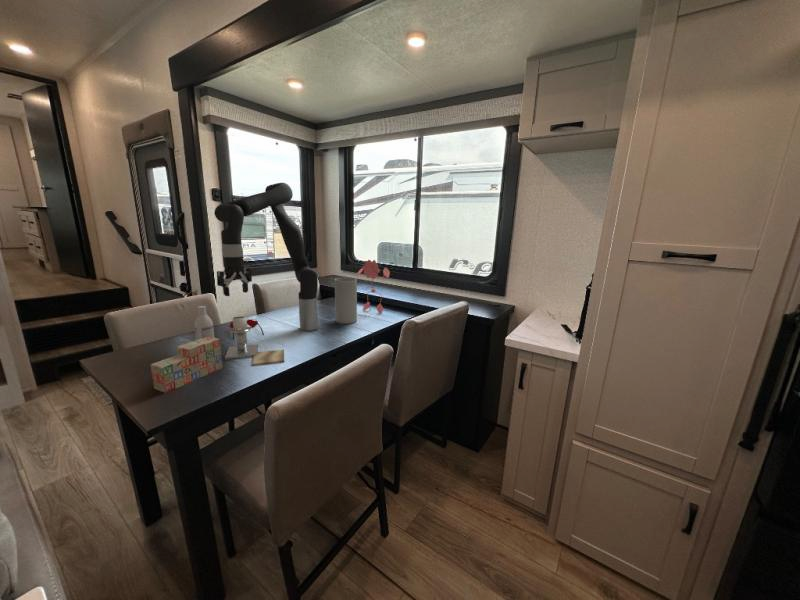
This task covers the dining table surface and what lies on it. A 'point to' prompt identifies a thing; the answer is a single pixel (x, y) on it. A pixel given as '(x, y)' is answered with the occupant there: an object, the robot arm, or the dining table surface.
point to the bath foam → (203, 324)
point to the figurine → (371, 272)
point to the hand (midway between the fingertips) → (236, 294)
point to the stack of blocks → (187, 364)
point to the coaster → (268, 357)
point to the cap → (239, 323)
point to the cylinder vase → (346, 300)
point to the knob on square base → (241, 346)
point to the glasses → (250, 323)
